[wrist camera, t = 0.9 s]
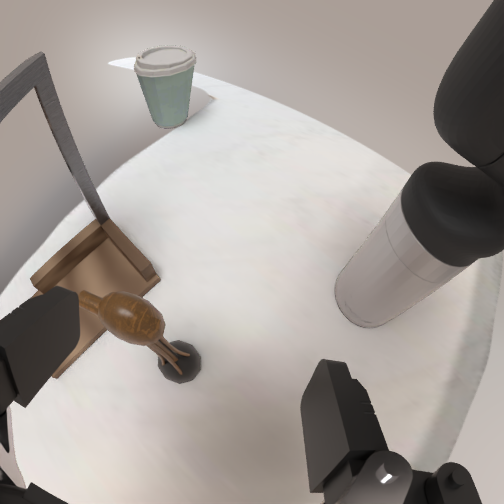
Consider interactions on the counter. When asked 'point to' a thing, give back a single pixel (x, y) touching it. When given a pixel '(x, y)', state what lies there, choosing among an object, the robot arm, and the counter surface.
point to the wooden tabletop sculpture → (143, 331)
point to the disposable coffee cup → (166, 82)
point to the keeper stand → (92, 236)
